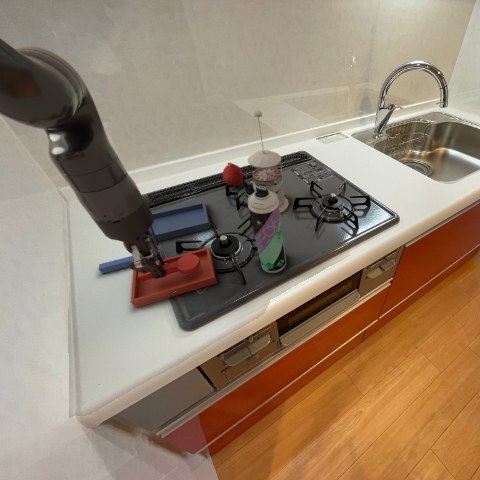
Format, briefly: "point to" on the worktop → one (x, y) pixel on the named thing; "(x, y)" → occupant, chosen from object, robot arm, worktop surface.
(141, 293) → the red tray
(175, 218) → the blue tray
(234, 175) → the onion
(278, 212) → the spray can
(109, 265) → the blue spoon
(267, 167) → the french press
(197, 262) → the red spoon
